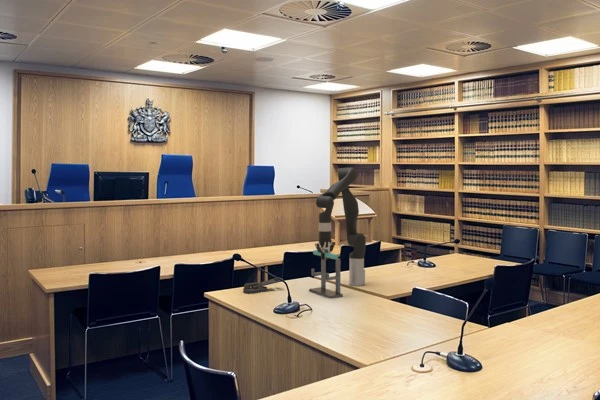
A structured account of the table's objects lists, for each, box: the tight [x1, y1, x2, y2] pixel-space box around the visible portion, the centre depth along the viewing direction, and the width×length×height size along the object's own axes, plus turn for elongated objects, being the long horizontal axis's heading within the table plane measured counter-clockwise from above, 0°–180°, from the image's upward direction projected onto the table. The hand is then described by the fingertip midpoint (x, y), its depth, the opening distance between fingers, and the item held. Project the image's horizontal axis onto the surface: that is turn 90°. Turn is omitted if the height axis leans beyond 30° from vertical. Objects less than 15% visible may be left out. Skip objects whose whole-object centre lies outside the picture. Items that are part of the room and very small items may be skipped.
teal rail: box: [312, 249, 339, 260], centre depth 312 cm, size 2×22×2 cm, turn 32°
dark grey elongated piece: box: [242, 277, 284, 295], centre depth 322 cm, size 9×7×25 cm
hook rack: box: [308, 257, 344, 300], centre depth 313 cm, size 9×22×22 cm, turn 32°
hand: (325, 259), depth 312 cm, fingers closed on teal rail, 2 cm apart
